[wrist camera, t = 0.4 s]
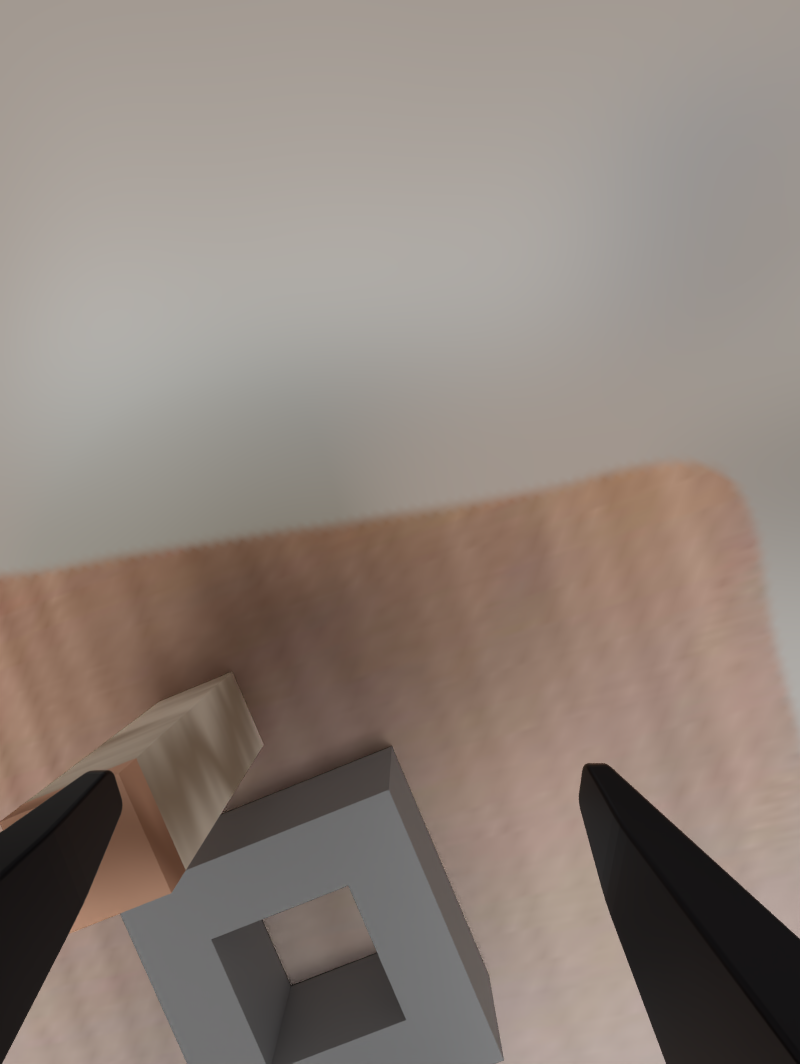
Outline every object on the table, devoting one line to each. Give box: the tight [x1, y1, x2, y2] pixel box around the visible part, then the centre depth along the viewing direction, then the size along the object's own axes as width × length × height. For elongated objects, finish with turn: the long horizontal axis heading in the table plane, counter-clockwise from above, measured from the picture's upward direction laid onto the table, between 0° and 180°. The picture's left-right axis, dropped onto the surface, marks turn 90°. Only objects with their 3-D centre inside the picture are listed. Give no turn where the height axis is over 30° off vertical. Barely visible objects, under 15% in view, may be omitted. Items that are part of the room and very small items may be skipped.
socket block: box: [120, 746, 504, 1064], centre depth 24 cm, size 14×14×4 cm
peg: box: [0, 672, 264, 934], centre depth 21 cm, size 4×4×10 cm
